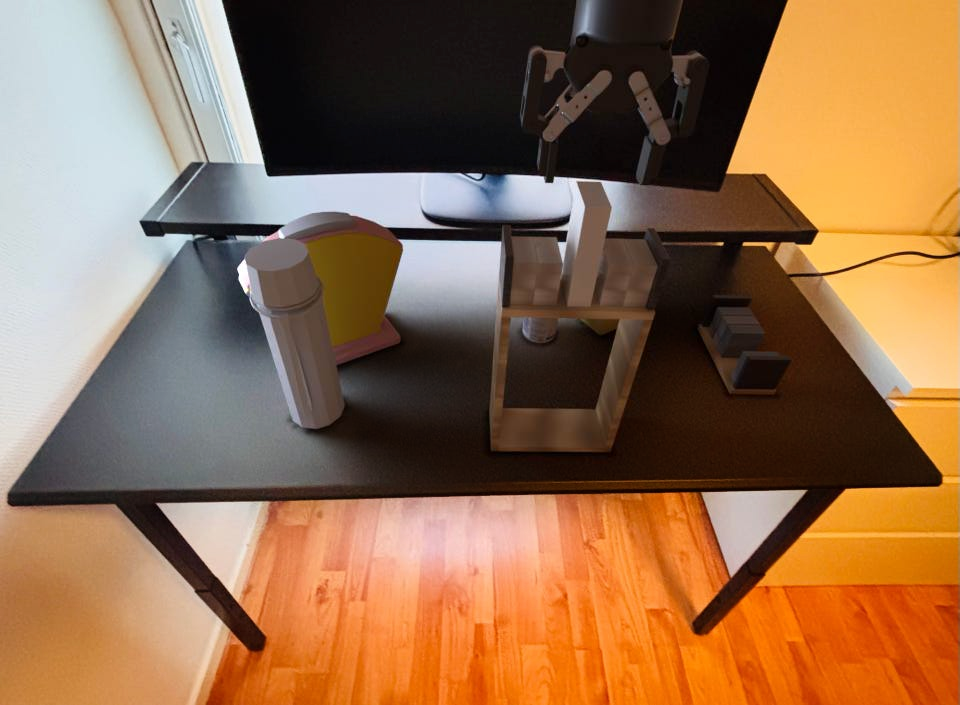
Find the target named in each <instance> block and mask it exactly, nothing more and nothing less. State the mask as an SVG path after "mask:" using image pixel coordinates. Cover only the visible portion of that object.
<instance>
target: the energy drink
mask: <svg viewBox="0 0 960 705" xmlns="http://www.w3.org/2000/svg"><path fill="white" fill-rule="evenodd" d="M558 322H559V318H523V323H522V334H523V336H524V337H525V338H526V339H527V340H528V341H529V342H533V343H537V344H545V343H549V342H550V341H552V340H553V339H554V338H555V337H556V332H557V327H558Z"/></svg>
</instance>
